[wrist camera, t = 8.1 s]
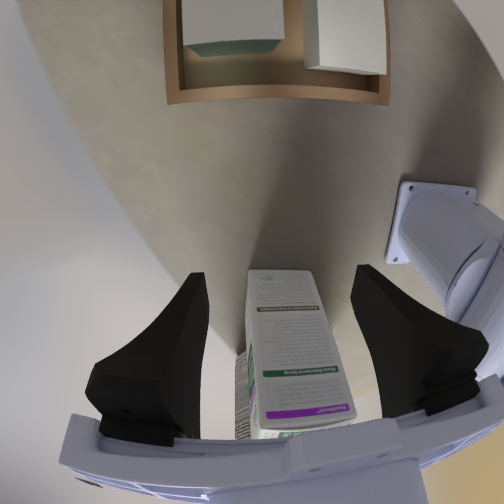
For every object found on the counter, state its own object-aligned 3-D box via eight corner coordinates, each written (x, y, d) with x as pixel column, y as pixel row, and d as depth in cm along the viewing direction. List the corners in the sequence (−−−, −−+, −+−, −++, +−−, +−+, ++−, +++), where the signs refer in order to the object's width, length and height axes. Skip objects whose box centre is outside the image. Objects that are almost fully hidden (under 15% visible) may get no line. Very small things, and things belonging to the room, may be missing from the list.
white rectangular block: (356, -10, 12) (380, -26, 9) (360, 75, 16) (386, 74, 12) (300, -19, 12) (313, -40, 9) (304, 69, 16) (319, 65, 12)
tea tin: (268, -4, 13) (279, -38, 8) (271, 54, 15) (284, 39, 10) (198, 0, 13) (181, -32, 8) (201, 58, 15) (183, 45, 10)
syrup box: (246, 267, 25) (252, 431, 13) (313, 268, 25) (360, 420, 13) (244, 314, 28) (248, 458, 16) (303, 314, 28) (332, 451, 16)
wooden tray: (368, -24, 11) (382, -34, 9) (373, 103, 17) (389, 106, 15) (172, -31, 11) (164, -43, 9) (176, 102, 17) (167, 104, 15)
